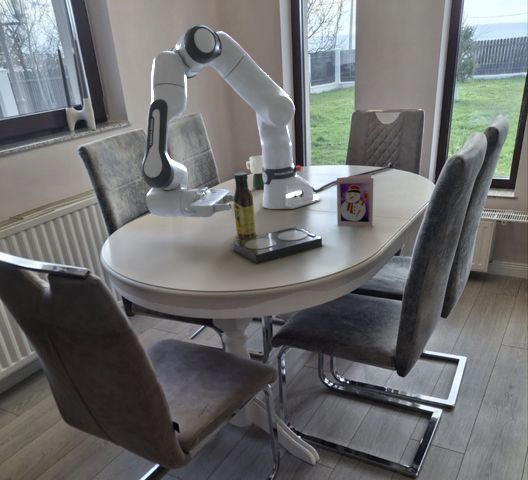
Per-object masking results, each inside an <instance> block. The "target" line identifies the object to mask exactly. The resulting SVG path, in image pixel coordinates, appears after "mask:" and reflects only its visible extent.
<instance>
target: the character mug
mask: <svg viewBox="0 0 528 480" xmlns="http://www.w3.org/2000/svg"><path fill="white" fill-rule="evenodd" d="M245 163H246V169H247V170H250V173H251V174H253V176H252V188H255V189H264V183H263V174H262V168H263V159H262V154H261V155H252V156H250V157H249V160H248V161H246V162H245Z"/></svg>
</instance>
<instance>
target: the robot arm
mask: <svg viewBox="0 0 528 480" xmlns="http://www.w3.org/2000/svg"><path fill="white" fill-rule="evenodd" d="M207 67H210V68H213V69H214V70H215V71H216V72H217V73H218V75H219V76H220V77H221V78H222V79H223V80H224V81H225V82H226V83H227V85H229V86H230V88H232V90H233V91H234V92H235V93H236V94H237V95H238V96H239V97H240V98H241V99H242V100H243V101H245V103H247V104H248V106H249V107H251V108H252V110H253V111H255V118H256V123H257V129H258V135H259V141H260V146H261V155H262V159H263V168H262V174H263V183H264V188H263V197H262V202H261V203H262V204H261V206H262V208H265V209H269V210H270V209H271V210H294V209H298V208H300V207H304V206H307V205H310V204H313V203H317V202H320V197H319V195H317V194H314V193H319V192H321V191H322V190H323V189H325V188H328V187H329V186H331V185H333V184H337V179H336V180H333V181H331V182H328V183H327V184H324V185H322V186H321V187H319V188H317V189H315V188H314V187H313V186H312V183H310V182H309V181H307V180H306V179H305V178H304V177H302V176H300V175H299V174H298V172H302V171H303V167H302V165H295V164H294V163H293V144H292V139H291V137H290V132H289V131H290V130H289V126H288V125H289V124H290V123H291V122H292V121H293V119H294V117H295V113H296V108H295V104H294V101H293V100H292V99H291V98H290V97H289V95H288V94H287V93H286V92H285V91H284V90H283V89H282V88H281V87H280V86H279V85H278V84H277V83H276V82H275V81H274V80H273V79H272V78H271V77H270V76H269V75H267V73H266V72H264V70H263V69H262V68H261V67H260V66H259V65H258V64H257V63H256V62H255V60H254V59H253V58H252V57H251V56H250V55H249V53H248V52H247V51H246V50H245V49H244V48H243V47H242V46H241V45H240V44H239V43H238V41H236V40H235V39H234V38H233V37H231V36H230V35H229V34H227V33H226V32H225V31H222V30H221V31H220V30H219V31H214V30H213V29H211V28H210V27H209V26H206V25H204V24H195V25H193V26H190V27H189V28H188V29H187V30H186V31H185V32H184V33H183V34H182V35H181V36H180V37H179V38H178V40H177V42H176V43H175V45H174V46H173V47H172V49H171V50H163V51H160V52H158V53H156V54H155V56H154V58H153V62H152V69H151V81H150V83H151V99H150V100H151V102H150V105H149V108H148V112H147V113H148V114H147V125H146V126H147V127H146V142H145V143H146V144H145V152H144V156H143V159H142V163H141V166H140V167H141V169H140V171H141V176H142V179H143V181H144V182H145V184H147V186H150V187H151V189H150V190H149V191H148V192H147V193H146V196H145V203H146V207H147V209H148V211H149V212H150V213H151V214H152V215H153V216H154V217H155V216H156V217H159V218H171V219H173V218H179V217H182V218H210V217H213V216H214V215H215V214H216V213H219V212H223V211H230V210H231V209H232V204H231V203H232V202H233V199H234V195H235V194H231V190H229V189H226V188H208V187H207V186H202V187H198V188H188V187H189V180H190V179H189V178H190V175H189V174H190V173H189V171H188V169H187V166H185V164H183V163H181V162H179V161H177V160H175V159H172V158H171V157H170V155H169V152H168V142H169V141H168V139H169V126H170V124H171V122H172V121H176V120H179V119H180V118H181V117H182V116H183V115H184V114H185V113H186V110H187V103H188V87H187V86H188V85H187V80H188V79H192V78H195V77H196V76H197V75H199V74H201V72H203V71H204V70H205V69H206V68H207ZM392 166H393V164H392V162H389V163H388V165H387V166H384V167H381V168H377V169H373V170H368V171H365V172H360V173H357V174H352V175H349V176H347V177H350V176H357V175H364V174H373V173H377V172H381V171H385V170H387V169H389V168H390V167H392Z"/></svg>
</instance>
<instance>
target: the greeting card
mask: <svg viewBox="0 0 528 480" xmlns="http://www.w3.org/2000/svg"><path fill="white" fill-rule="evenodd" d="M349 176H350V177H348V176H344V177H337V178H336V180H337V183H336V204H337V205H336V213H337V214H336V215H337V217H336V219H337V220H336V221H337V226H340V227H341V226H342V227H343V226H344V227H373V219H374V217H373V216H374V177H372V173H370V174H364V175H357V176H352V175H349Z"/></svg>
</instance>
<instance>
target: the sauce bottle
mask: <svg viewBox="0 0 528 480" xmlns="http://www.w3.org/2000/svg"><path fill="white" fill-rule="evenodd" d="M248 178H249V175H248V173H247V172H245V171H239V172H236V173H234V174H233V179H234V181H235V189H234V194H233V195H234V199H233V201H232V202H233V211H234V221H235V229H236V234H237V237H238V238H239V239H240V240H243V239H247V238H252V237H256V234H257V229H256V227H257V226H256V217H255V216H256V215H255V206H254V205H255V204H254V197H253V193H252V191H251V190H250V189H249V184H248V183H249V182H248Z"/></svg>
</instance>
